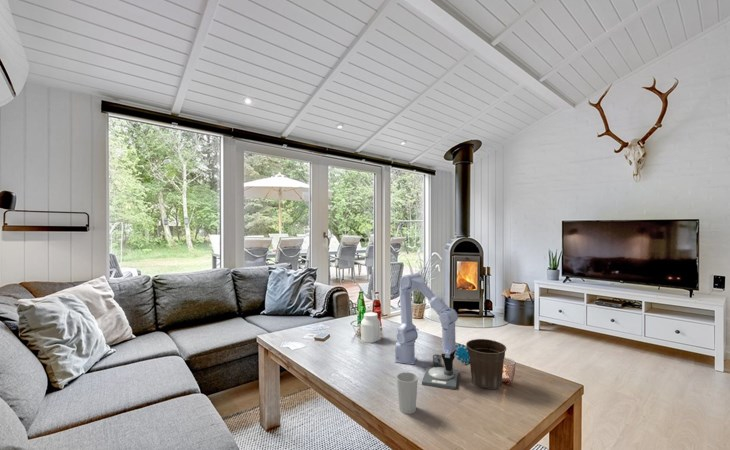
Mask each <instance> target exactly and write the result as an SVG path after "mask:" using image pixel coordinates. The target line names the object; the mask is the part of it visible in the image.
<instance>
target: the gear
mask: <svg viewBox="0 0 730 450" xmlns="http://www.w3.org/2000/svg"><path fill="white" fill-rule="evenodd" d="M455 345H456V347H458V350H456V352H455V354H454V356H456V359H457V360H458V361H460V360H461V363H462V364H464V363H465V364H466V365H467V364H470V358H469V354H468V348H467V347H465V346H466V345H464V344H461V343H457V344H455Z"/></svg>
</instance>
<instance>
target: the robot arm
mask: <svg viewBox="0 0 730 450" xmlns="http://www.w3.org/2000/svg"><path fill="white" fill-rule="evenodd" d="M399 284H400V285H399V302H400V303H399V305H400V321H401V323H400V325H399V326H398V328H397V333H396V340H397V341H396V343H395V349H394V351H395V355H394V357H395V360H394V362H395V363H400V364H407V365H414V364H416V360H417V359H418V357H416V355H415V354H416V353H415V352H416V351H415V348H416V347H415V346H416V344H415V343H416V340H417V339H418V336H419V335H418V334H419V333H418V331H417V325H415V324H414V323H413V312H412V310H413V309H412V296H411V295H412V294H411V293H412V291H413V290H418V291H419V292H420V293H421V294H422V295H424V297H426V299H427V300H428V301H429V305H430V307H431V308H432V310H434V311H435V313H436V314H437V315H438V319H439V322H440V324H441V332H442V333H441V339H442V340H441V343H442V345H441V349H442V351H443V352H442V353H441V354H440V355H441V356H442V361H443V365H444V364H445V369H446V371H451V368H452V362H453V363H454V359H455V358H456V355H455V352H456V350H457V351H458V348H459V347H456V345H457V344H456V322H457V321H458V319H459V315H458V312H457V311H456V309H454V308H451V307H449V306H448V305H447V304H446V303H445V301H443V300H444V299H443V298H442V297H440V296H436V295H435V293H434V292H433V291H432V290H431V288H430V287H429V286H428V285H427V283H426V282H425V278H424V277H423V276H422V275H421V274H420V273H419V272H416V273H411V274H404V275H403V276H402V277H400V279H399Z"/></svg>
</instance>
